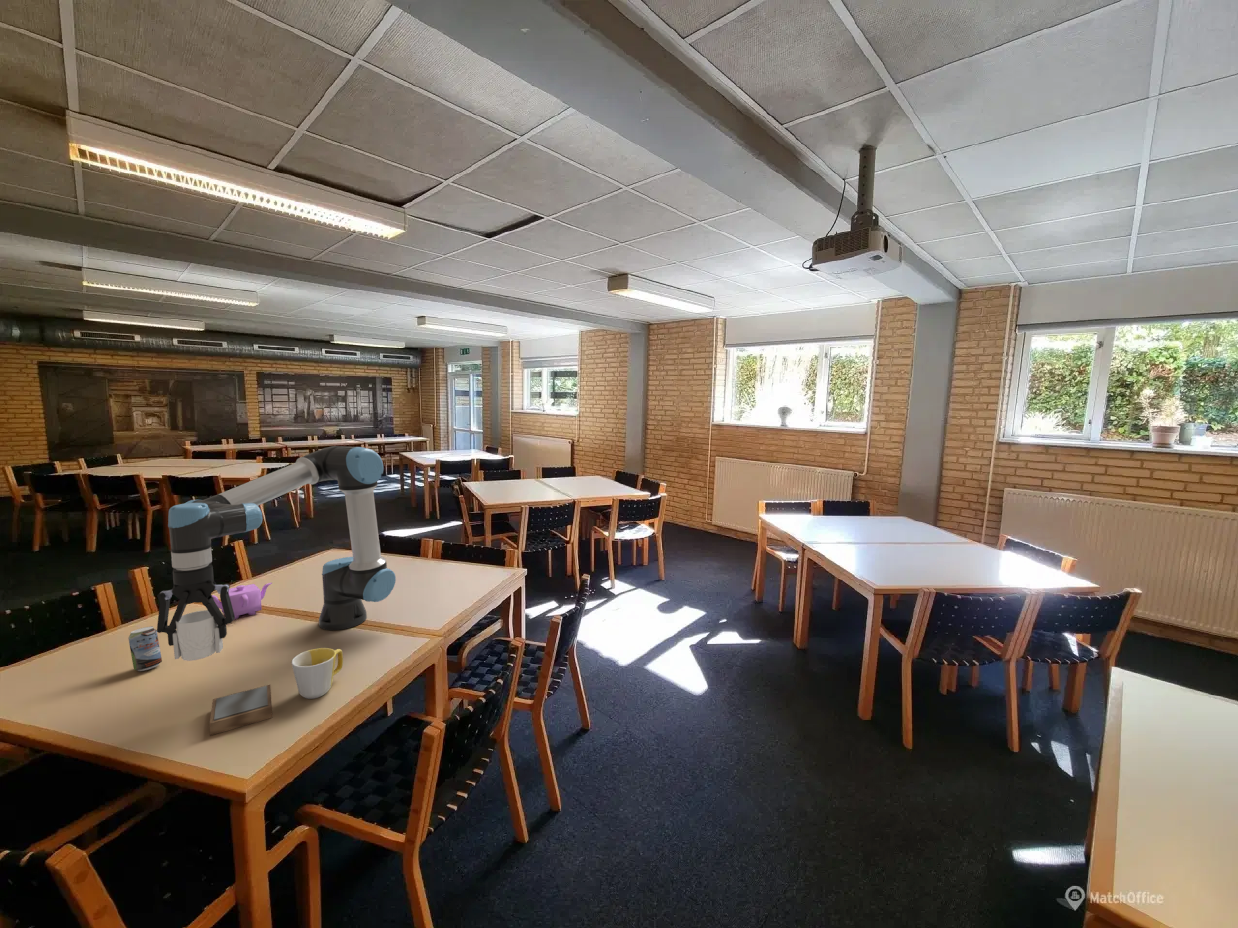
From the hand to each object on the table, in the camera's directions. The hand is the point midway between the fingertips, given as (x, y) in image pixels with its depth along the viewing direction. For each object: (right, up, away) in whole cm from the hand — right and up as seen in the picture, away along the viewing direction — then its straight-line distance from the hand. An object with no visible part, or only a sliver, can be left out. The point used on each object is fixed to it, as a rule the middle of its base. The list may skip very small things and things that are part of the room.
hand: (199, 653), depth 124 cm
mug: (+24, -15, +11) cm, 31 cm away
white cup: (0, 0, 0) cm, 1 cm away
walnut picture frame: (+11, -15, 0) cm, 19 cm away
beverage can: (-33, -12, +20) cm, 41 cm away
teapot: (-34, -8, +59) cm, 68 cm away
